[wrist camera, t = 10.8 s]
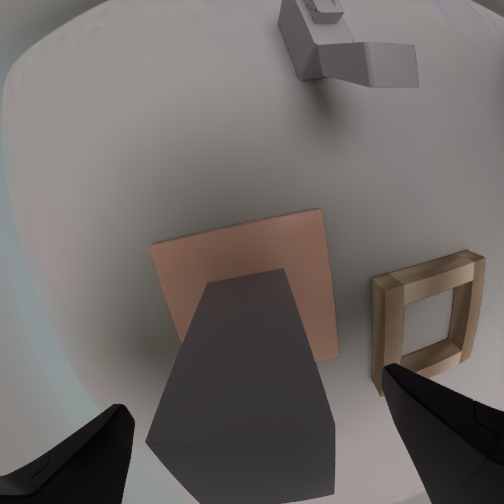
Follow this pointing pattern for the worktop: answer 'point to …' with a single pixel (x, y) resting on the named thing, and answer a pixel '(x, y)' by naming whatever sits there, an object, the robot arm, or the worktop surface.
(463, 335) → the wooden square frame
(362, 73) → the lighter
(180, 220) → the worktop surface
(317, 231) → the tile
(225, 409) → the dark grey block
